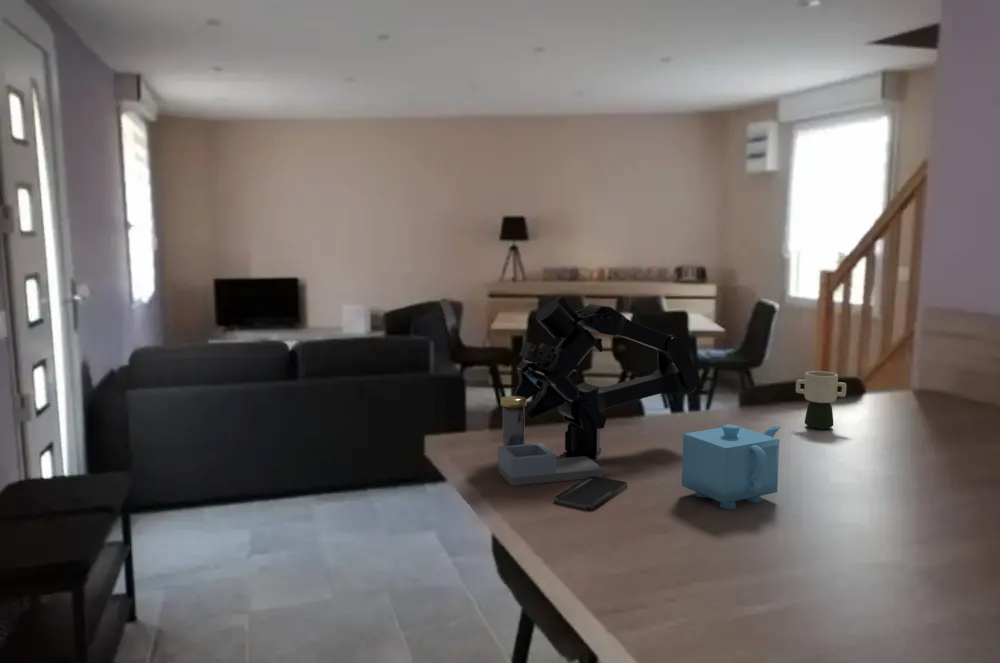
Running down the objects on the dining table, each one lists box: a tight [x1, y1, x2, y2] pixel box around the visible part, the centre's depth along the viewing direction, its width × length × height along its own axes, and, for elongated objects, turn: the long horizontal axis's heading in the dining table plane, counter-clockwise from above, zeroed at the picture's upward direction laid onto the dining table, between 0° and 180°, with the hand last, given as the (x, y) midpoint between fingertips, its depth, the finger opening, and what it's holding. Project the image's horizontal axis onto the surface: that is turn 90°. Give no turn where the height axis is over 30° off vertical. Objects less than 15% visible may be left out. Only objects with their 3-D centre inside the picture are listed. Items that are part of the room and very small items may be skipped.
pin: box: [500, 395, 528, 446], centre depth 154 cm, size 5×5×13 cm
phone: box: [554, 476, 628, 512], centre depth 136 cm, size 8×1×15 cm
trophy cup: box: [795, 370, 847, 429], centre depth 180 cm, size 11×7×13 cm, turn 65°
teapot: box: [681, 423, 782, 510], centre depth 135 cm, size 18×16×13 cm
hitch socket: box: [497, 442, 605, 487], centre depth 148 cm, size 18×9×5 cm, turn 106°
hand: (519, 411), depth 154 cm, fingers open, 9 cm apart
